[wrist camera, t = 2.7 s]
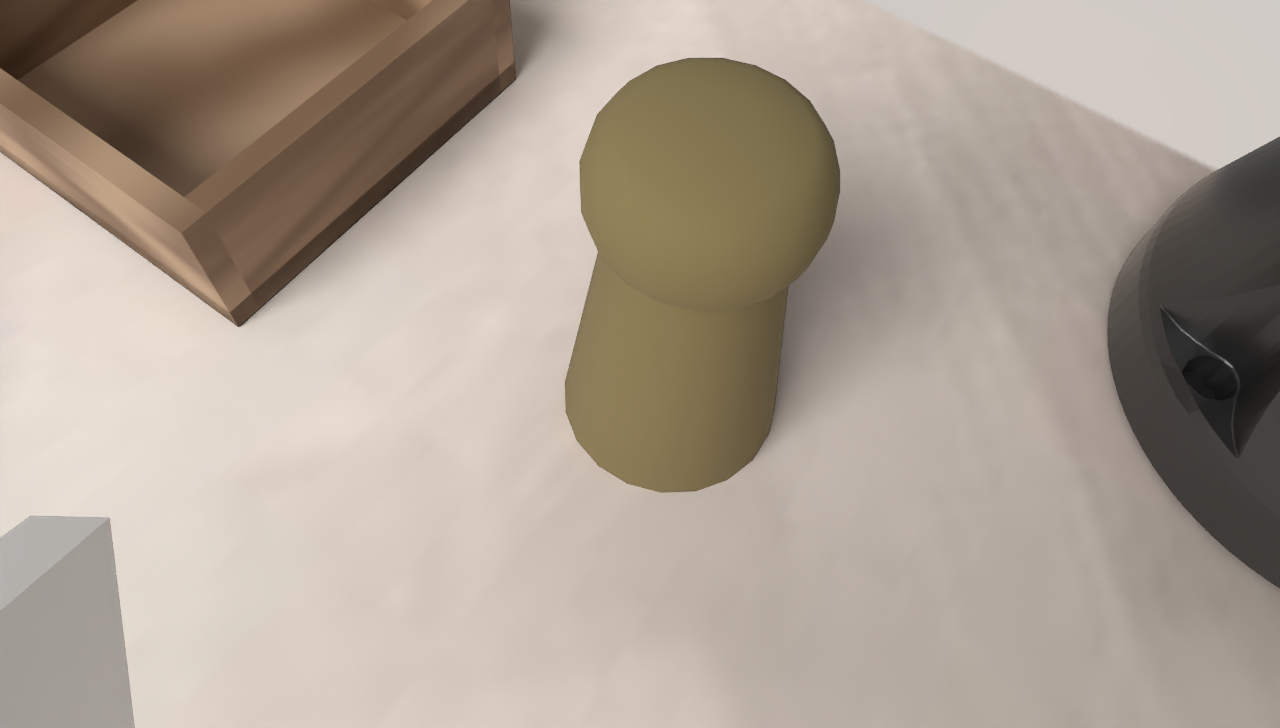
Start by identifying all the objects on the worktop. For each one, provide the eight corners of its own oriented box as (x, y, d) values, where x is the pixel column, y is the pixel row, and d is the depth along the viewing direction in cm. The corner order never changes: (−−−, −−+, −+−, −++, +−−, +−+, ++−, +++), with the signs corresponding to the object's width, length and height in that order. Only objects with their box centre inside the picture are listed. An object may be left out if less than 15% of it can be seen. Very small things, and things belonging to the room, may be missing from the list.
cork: (632, 531, 25) (665, 310, 15) (526, 357, 27) (498, 71, 18) (816, 431, 27) (948, 175, 17) (702, 275, 29) (762, -26, 20)
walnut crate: (515, 79, 33) (507, -32, 29) (238, 326, 27) (181, 233, 23) (255, -74, 36) (215, -193, 32) (-40, 122, 30) (-132, 9, 26)
